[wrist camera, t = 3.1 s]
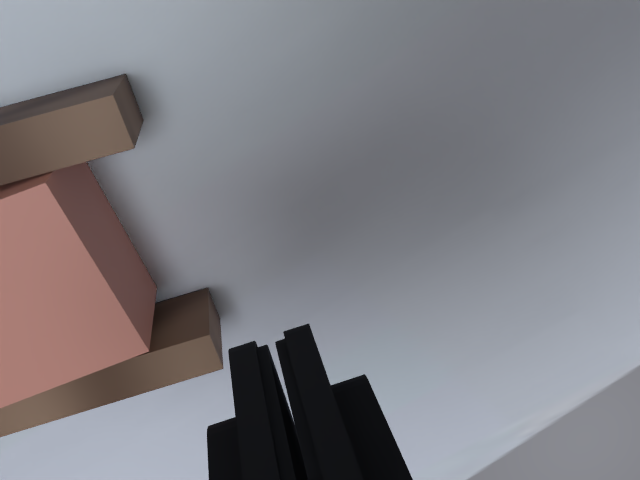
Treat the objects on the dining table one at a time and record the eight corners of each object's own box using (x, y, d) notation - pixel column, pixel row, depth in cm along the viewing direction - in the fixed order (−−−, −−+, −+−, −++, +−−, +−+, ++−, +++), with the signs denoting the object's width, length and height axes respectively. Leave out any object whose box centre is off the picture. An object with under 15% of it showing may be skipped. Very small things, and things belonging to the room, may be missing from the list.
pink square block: (74, 138, 18) (45, 182, 15) (157, 285, 21) (149, 351, 18) (-103, 205, 18) (-175, 265, 15) (4, 343, 21) (-34, 421, 17)
